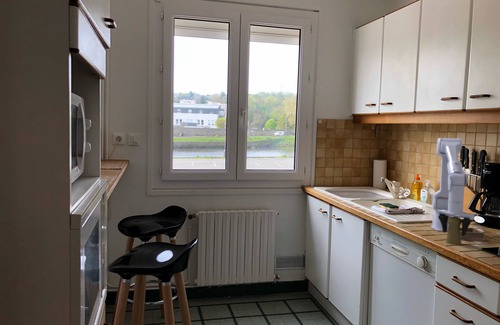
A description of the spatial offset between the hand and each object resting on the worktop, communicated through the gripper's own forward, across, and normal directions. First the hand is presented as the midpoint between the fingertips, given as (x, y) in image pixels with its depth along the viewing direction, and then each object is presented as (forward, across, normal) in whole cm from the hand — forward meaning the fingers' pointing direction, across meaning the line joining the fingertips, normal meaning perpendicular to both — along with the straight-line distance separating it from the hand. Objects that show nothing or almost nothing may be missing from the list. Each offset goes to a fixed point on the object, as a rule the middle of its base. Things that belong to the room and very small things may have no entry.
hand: (454, 233), depth 180 cm
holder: (+4, 0, +14) cm, 15 cm away
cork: (+4, 0, 0) cm, 4 cm away
